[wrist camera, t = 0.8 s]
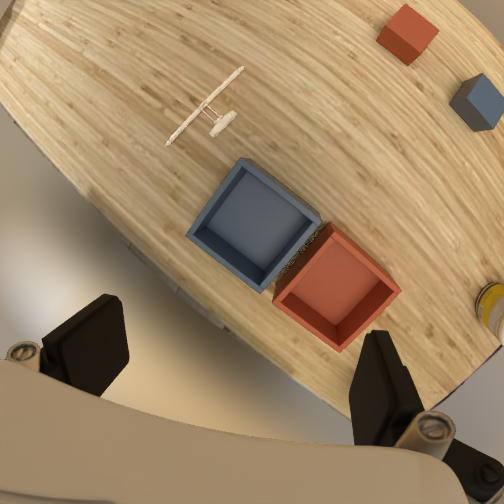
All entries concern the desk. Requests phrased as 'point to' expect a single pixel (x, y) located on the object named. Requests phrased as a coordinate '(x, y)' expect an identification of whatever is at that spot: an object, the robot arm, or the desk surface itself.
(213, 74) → the desk surface
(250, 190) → the blue bin
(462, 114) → the gray block
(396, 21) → the terracotta block
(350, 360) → the desk surface
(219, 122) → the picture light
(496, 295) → the pill bottle
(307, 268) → the terracotta bin
